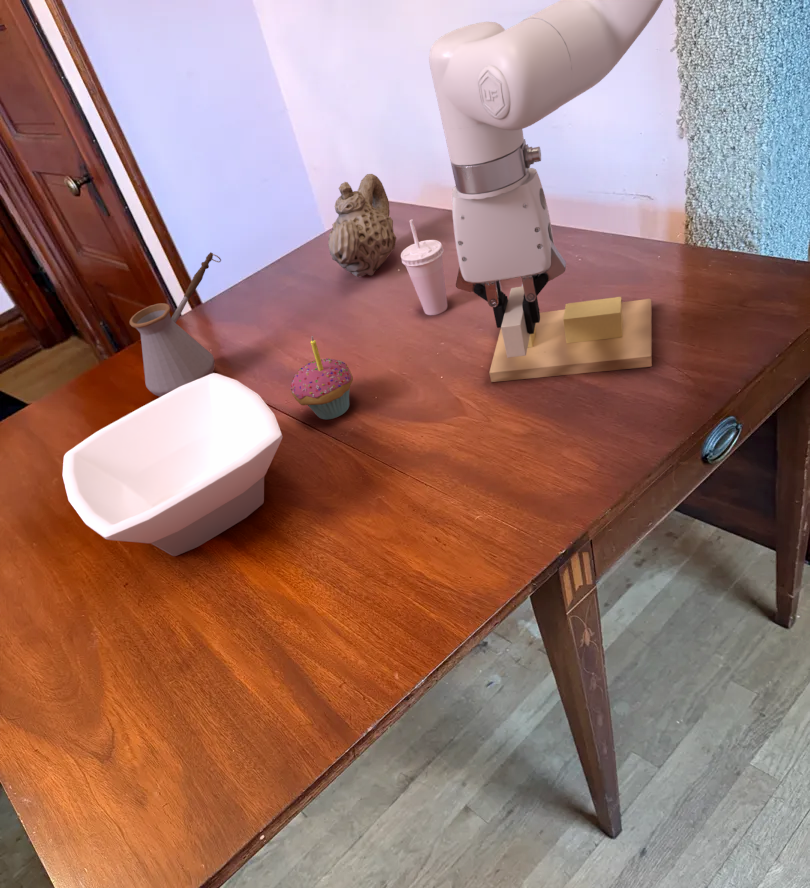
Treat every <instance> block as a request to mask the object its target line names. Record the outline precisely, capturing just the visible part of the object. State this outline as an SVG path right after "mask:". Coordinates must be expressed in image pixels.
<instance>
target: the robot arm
mask: <svg viewBox="0 0 810 888" xmlns="http://www.w3.org/2000/svg"><path fill="white" fill-rule="evenodd" d="M663 2H664V0H558V1H556V2H554V3H553V4H550V5H548V6H546V7H545V8H543V9H541V10H540V11H538V12H535V13H534V14H532V15H530V16H527V17H526V18H525V19H523V20H521V21H520V22H518V23H516V24H514V25H512V26H510V27H508V28H507V29H505V28H504V26H502V25H501V24H500V23H497V22H496V21H481V22H476V23H472V24H468V25H464V26H462V27H459V28H456V29H454V30H451V31H449V32H447V33H445V34H443V35H442V36H440V37H439V38H437V39H436V40H435V41H434V42H433V44H432V45H431V47H430V49H429V54H428V55H429V56H428V62H429V69H430V73H431V77H432V83H433V87H434V92H435V96H436V97H435V98H436V101H437V105H438V111H439V116H440V119H441V125H442V129H443V133H444V134H443V135H444V137H445V142H446V147H447V153H448V156H449V161H450V166H451V170H452V175H453V179H454V184H455V186H454V187H453V188H452V191H451V212H452V213H451V214H452V225H453V233H454V241H455V249H456V255H457V261H458V265H459V266H458V272H457V275H456V276H457V277H456V280H455V287H456V289H458V290H461V291H465V292H469V293H474V294H475V295H477V296H478V297H480V298H481V299H482V300H483V301H485V302H487V304H488V306H489V307H491V308H492V311H493V315H494V321H495V325H496V327H497V329H501V326H502V322H503V318H504V314H505V311H506V307H507V303H508V298H509V296H508V295H506V293H505V292H503V291H502V285H501V281H504V280H512V279H517V278H518V279H519V278H520V279H521V284H522V283H523V288H524V299H523V303H522V308H523V311H524V317H525V322H526V328H527V333H529V334H534V329H535V324H536V323H539V322H540V313H541V312H540V307H539V301H538V296H539V294H540V293H541V292H542V290H543V289H544V288H545V287H546V285H547V284H548V282H550V281H553V280H554V279H556V278H558V277H559V276H561V275H562V274H564V273H565V272H566V268H567V262H566V261H565V259H564V258H563V256H562V254H561V253H560V252H559V250H558V248H557V247H556V245H555V240H554V233H553V227H552V222H551V217H550V212H549V208H548V204H547V199H546V195H545V191H544V188H543V185H542V181H541V179H540V176H539V173H538V171H537V169H536V168H533V167H531V165H535V163H538V162H542V150H541V146H535V147H533V146H529V144H527V142H526V141H527V140H526V138H524V130H523V129H526V128H528V127H531V126H532V125H534V124H536V123H538V122H539V121H541V120H543V119H544V118H547V116H549V115H550V114H552V113H554V112H555V111H557V110H558V109H559V108H561V107H562V106H564V105H565V104H567V103H569V102H570V101H573V100H574V99H575V98H577V97H578V96H580V95H582V94H584V93H586V92H587V91H588V90H590V89H593V88H594V87H595V86H596V85H598V84H599V83H600V82H602V80H603V79H605V77H606V76H607V75H608V74H610V72H612V71H613V69H614V68H615V67H616V66H617V64H618V63H619V62H620V61H621V59H622V58H623V57H624V56H625V54H626V53H627V52H628V51H629V50H630V48H631V46H633V44H634V42H635V41H636V40H637V39H638V37H639V36H640V35H641V34H642V33H643V31H644V30H645V29H646V27H647V26H648V25H649V23H650V21H651V20H652V18H654V17H655V14H656V13H657V11H658V10H659V8H660V7H661V5H662V4H663Z"/></svg>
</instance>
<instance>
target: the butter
mask: <svg viewBox="0 0 810 888" xmlns="http://www.w3.org/2000/svg"><path fill="white" fill-rule="evenodd" d="M622 300H623V299H622V296H615V297H608V298H600V299H591V300H584V301H583V300H582V301H577V302H569V303H565V306H564V310H565V312H564V318H563V321H564V329H565V337H566V343H575V342H583V341H592V340H601V339H610V338H619V337H622V332H623V313H622V302H623V301H622Z"/></svg>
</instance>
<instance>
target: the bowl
mask: <svg viewBox="0 0 810 888" xmlns="http://www.w3.org/2000/svg"><path fill="white" fill-rule="evenodd" d="M283 438H284V437H283V434H282V431H281V429H280V425H279V423H278V419H277V418H276V415H275V412H273V411H272V410H271V408H270V406H268V405H267V403H266V402H265V401H264V399H263V398H262V397H261V396H260V394H259V393H257V392H255V390H253V389H251V388H250V387H248V386H246V385H245V384H243V383H242V382H240V381H239V380H237V379H235V378H232V377H229V376H227V375H223V374H221V373H215V372H213V373H212V374H209V375H207V376H205V377H202V378H200V379H197V380H195V381H192V382H190V383H187V384H185V385H183V386H180V387H178V388H176V389H175V390H173V391H171V392H169V393H167V394H165V395H163V396H161V397H159V396H158V398H156V399H154V400H152V401H150V402H148V403H146V404H145V405H143V406H141V407H139V408H137V409H135V410H134V411H133V410H132V412H129V413H127V414H126V415H124V416H122V417H120V418H119V419H117V420H115V421H113V422H112V423H109V424H108V425H106V426H104V427H102V428H100V429H99V430H97V431H95V432H94V433H93V434H91V435H90V436H88V437H86V438H85V439H83V441H81V442H79V443H77V444H76V445H75V446H74V447H72V448H71V449H69V450H68V451H66V452H65V453H64V455H63V461H62V462H63V463H62V473H61V474H62V479H63V484H64V488H65V492H66V496H67V500H68V502H69V503H70V505H71V506H72V508H73V509H74V510H75V512H76V513H77V514H78V516H79V517H80V519H81V520H82V521H83V524H85V525H86V526H87V527H88V528H90V529H91V530H93V531H94V532H95V533H97V534H98V535H100V537H102V538H103V539H104V540H107V541H116V542H117V541H119V542H129V543H139V544H151V545H153V546H154V547H157V548H158V549H160V550H161V551H164V552H165V553H167V554H168V555H171V556H172V557H177V556H180V555H182V554H184V553H187V552H189V551H192V550H194V549H196V548H198V547H200V546H202V545H203V544H205V543H207V542H208V541H210V540H211V539H214V538H216V537H217V536H218V535H220V534H222V533H224V532H226V531H227V530H228V529H230V528H232V527H234V526H235V525H236V524H238V523H241V522H242V521H243V520H245V519H247V518H248V517H249V516H250V515H251V514H253V513H254V512H255V511H256V510H258V508H260V507H261V506H262V505H263V504H264V503H265V476H266V475H267V473H268V469H269V468H270V466H271V464H272V462H273V459H274V457H275V455H276V453H277V451H278V448H279V447H280V444H281V442H282V440H283Z"/></svg>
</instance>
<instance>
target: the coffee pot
mask: <svg viewBox="0 0 810 888" xmlns="http://www.w3.org/2000/svg"><path fill="white" fill-rule="evenodd" d="M214 257H216V258H218V259H219V260H216V259H214ZM212 261H213V262H216V263H221V262H222V259H221V257H220V256H218V255H217V254H215V253H213V252H209V253H208V254H207V255H206V256H205V260H204V261H202V262H201V263H200V265H201V267H199V269H198V270H197V271H196V273H195V274H194V275H193V277H192V279H191V281H190V283H189V285H188V287H187V289H186V290H185V293H184V295H183V298H182V299H181V301H180V302H179V304H178V306H177V308H176V309H175V311H174V312H173V314H172V316H171V313H170V312H171V306H170V305H169V304H168V303H166V302H165V303H164V302H163V303H161V302H160V303H155V304H152V305H148V306H146V307H144V308H143V309H140V310H138V311H137V312H135V314H134V315H132V316H131V317H130V319H129V325H130V326H131V327H132V328H135V329H136V330H137V331H138V332H139V335H140V341H141V342H140V343H141V352H142V353H141V354H142V362H143V363H142V364H143V373H144V382H145V387H146V388H147V390H148V391H149V392H150V393H151V394H152V395H155V396H157V397H158V398H159V397H161V396H163V395H165V394H167V393H169V392H171V391H173V390H175V389H176V388H178V387H180V386H183V385H185V384H187V383H190V382H192V381H195V380H197V379H200V378H202V377H205V376H207V375H209V374H212V373H214V370H215V357H214V355H213V354H212V353H211V352H210V351H209V350H208V349H207V348H205V347H204V346H203V345H202V344H201V343H200V342H198V341H197V340H196V339H195V338H194V337H192V336H191V334H189V333H188V332H187V331H185V330H184V329H183V328H182V327H181V326H179V324H178V323H177V321H178V320H179V318H180V316H181V314H182V312H183V310H184V308H185V307H186V305H187V304H188V301H189V300H190V298H191V297H192V296H193V294H194V293H195V291H196V289H197V288H198V286H199V285H200V284H201V282H202V280H203V278H204V275H205V272H206V270H207V269H209V268H210V266H209V265H210V263H211V262H212Z"/></svg>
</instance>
